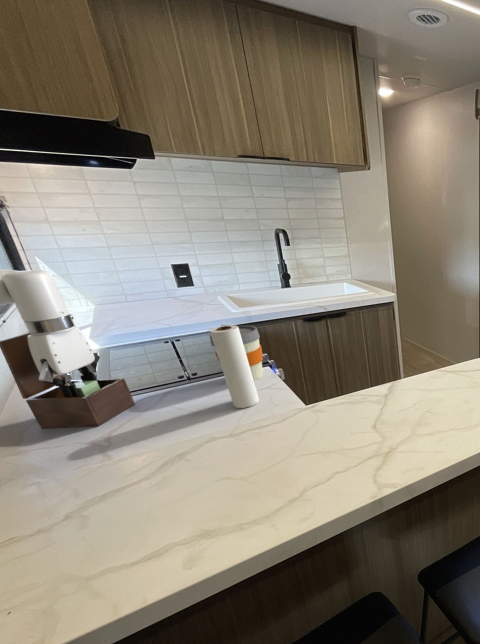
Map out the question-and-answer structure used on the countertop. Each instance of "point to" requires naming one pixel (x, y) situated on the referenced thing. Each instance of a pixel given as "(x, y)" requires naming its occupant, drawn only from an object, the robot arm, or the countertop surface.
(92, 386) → the block
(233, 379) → the paper towel roll
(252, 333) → the reusable coffee cup
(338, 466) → the countertop surface
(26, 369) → the lid
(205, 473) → the countertop surface
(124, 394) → the chest
